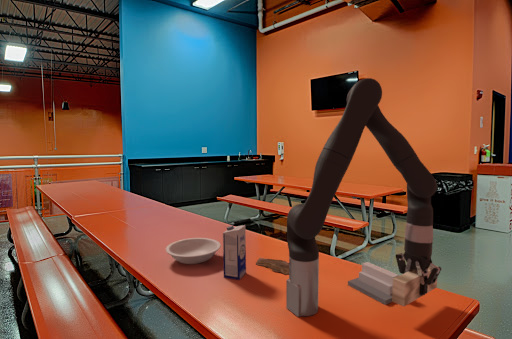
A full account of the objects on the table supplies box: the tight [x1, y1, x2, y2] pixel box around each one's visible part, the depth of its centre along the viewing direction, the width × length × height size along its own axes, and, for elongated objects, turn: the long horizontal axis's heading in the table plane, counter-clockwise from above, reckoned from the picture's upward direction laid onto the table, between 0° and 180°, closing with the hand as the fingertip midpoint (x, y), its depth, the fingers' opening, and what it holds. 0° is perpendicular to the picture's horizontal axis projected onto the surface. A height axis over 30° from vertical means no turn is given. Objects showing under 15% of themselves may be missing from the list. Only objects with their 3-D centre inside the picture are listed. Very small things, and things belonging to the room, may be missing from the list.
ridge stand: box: [347, 261, 400, 306], centre depth 110 cm, size 14×16×8 cm
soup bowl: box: [165, 237, 222, 265], centre depth 138 cm, size 24×24×7 cm
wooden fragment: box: [255, 257, 289, 276], centre depth 130 cm, size 26×11×1 cm, turn 46°
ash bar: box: [391, 265, 438, 307], centre depth 96 cm, size 20×4×7 cm, turn 126°
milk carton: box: [222, 224, 247, 281], centre depth 122 cm, size 7×7×20 cm
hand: (415, 291), depth 96 cm, fingers closed on ash bar, 3 cm apart
